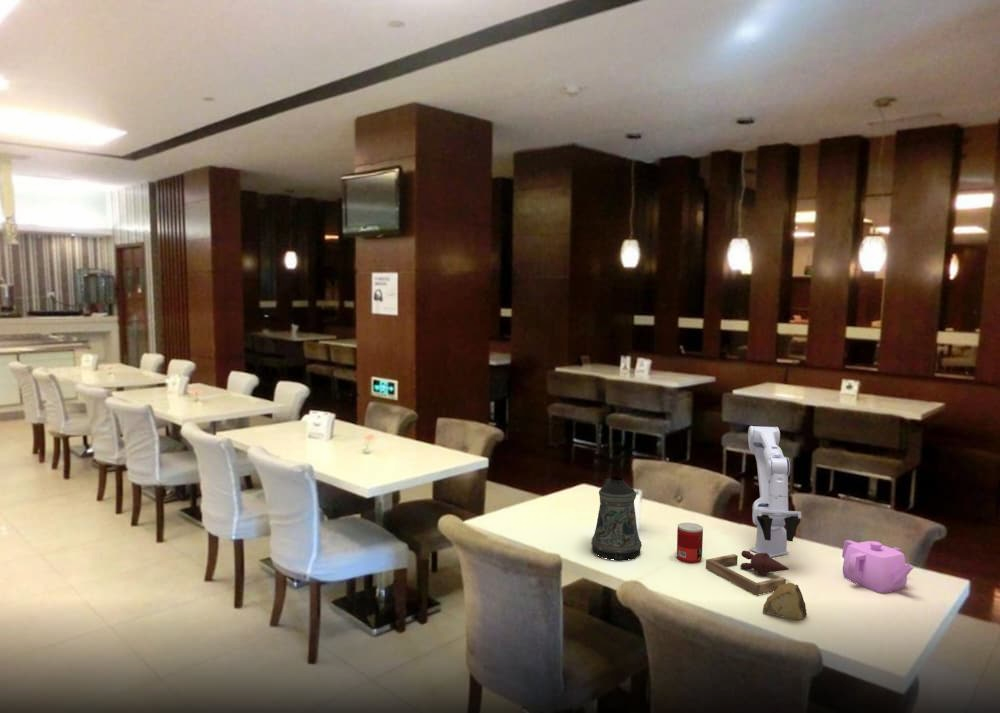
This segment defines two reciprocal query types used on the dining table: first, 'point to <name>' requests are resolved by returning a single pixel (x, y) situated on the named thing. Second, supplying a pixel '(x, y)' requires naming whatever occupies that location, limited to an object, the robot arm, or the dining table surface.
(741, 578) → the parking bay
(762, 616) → the dining table surface
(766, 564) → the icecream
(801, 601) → the rock
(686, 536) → the canned food
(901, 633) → the dining table surface
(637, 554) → the beer stein
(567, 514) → the dining table surface
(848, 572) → the teakettle
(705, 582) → the dining table surface
